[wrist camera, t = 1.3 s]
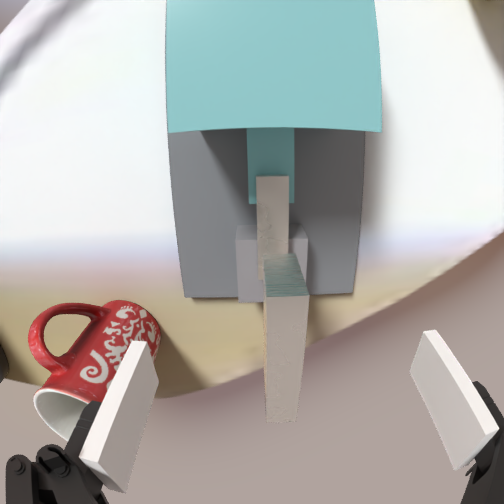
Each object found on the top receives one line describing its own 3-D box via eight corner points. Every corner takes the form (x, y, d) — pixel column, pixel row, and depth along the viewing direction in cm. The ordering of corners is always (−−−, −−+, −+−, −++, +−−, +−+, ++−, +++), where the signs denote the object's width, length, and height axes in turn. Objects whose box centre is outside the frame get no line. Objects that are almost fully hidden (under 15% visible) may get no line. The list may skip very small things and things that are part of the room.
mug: (185, 352, 31) (159, 461, 18) (119, 365, 32) (79, 456, 19) (128, 248, 26) (52, 340, 14) (62, 274, 27) (-14, 353, 15)
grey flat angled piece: (259, 320, 23) (262, 423, 14) (255, 174, 19) (259, 218, 10) (284, 319, 23) (299, 421, 14) (287, 174, 19) (319, 217, 10)
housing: (187, 290, 28) (172, 331, 22) (170, 1, 18) (148, -29, 12) (348, 286, 28) (369, 324, 22) (352, 1, 18) (379, -28, 12)
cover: (203, 195, 23) (176, 235, 15) (197, -9, 17) (171, -66, 8) (332, 193, 23) (375, 230, 15) (327, -9, 16) (361, -63, 8)
